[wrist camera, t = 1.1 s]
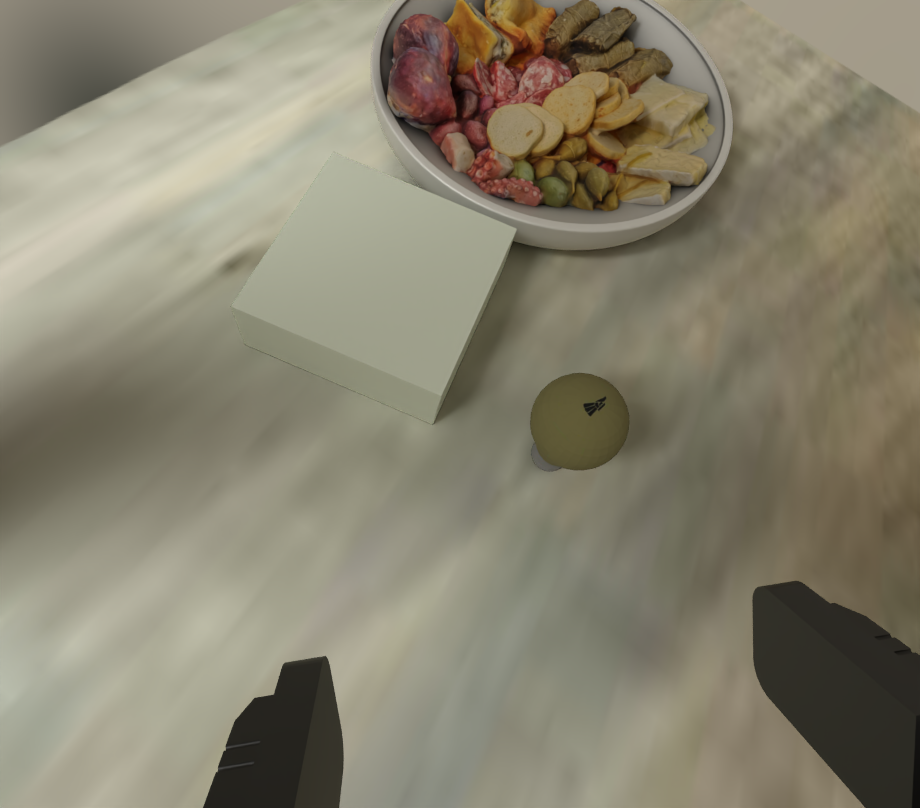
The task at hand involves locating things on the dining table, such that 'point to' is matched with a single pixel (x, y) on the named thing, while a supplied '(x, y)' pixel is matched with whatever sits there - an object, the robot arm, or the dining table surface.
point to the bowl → (553, 113)
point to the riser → (375, 286)
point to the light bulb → (578, 423)
